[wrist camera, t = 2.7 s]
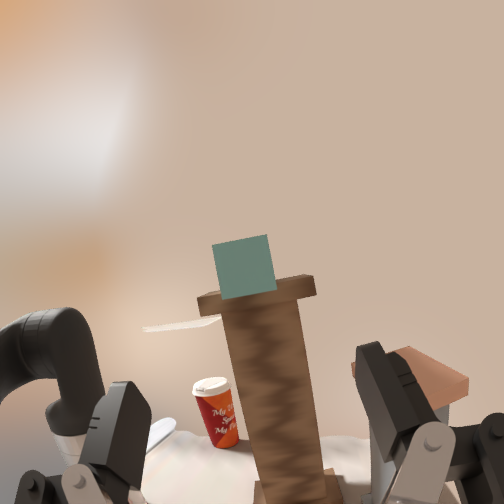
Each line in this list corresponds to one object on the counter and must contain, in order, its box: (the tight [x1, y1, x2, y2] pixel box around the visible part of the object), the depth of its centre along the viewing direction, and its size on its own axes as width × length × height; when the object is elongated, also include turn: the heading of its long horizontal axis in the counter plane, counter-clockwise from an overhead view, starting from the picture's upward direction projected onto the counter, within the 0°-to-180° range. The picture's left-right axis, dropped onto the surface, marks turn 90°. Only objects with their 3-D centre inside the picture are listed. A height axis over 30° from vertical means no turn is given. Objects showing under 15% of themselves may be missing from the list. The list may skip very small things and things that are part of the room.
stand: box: [197, 274, 343, 504], centre depth 34 cm, size 12×8×32 cm, turn 87°
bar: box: [212, 235, 277, 300], centre depth 34 cm, size 4×24×4 cm, turn 177°
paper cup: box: [192, 377, 239, 448], centre depth 55 cm, size 8×8×14 cm
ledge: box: [351, 346, 469, 504], centre depth 23 cm, size 7×12×22 cm, turn 177°
